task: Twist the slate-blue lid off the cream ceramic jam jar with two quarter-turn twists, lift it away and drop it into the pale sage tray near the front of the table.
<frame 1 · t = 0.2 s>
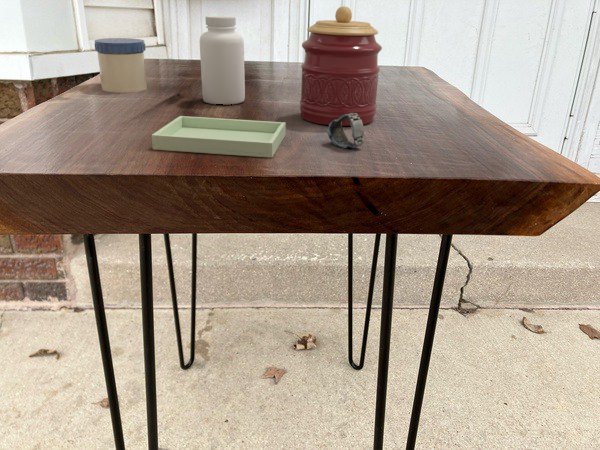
kitchen canister: (337, 119, 90), on the table
tray: (222, 142, 75), on the table
pill bottle: (223, 102, 100), on the table
jar: (125, 98, 99), on the table
wristwatch: (343, 147, 75), on the table
jar lid: (119, 42, 95), point 10 cm above the table, screwed on, not yet turned
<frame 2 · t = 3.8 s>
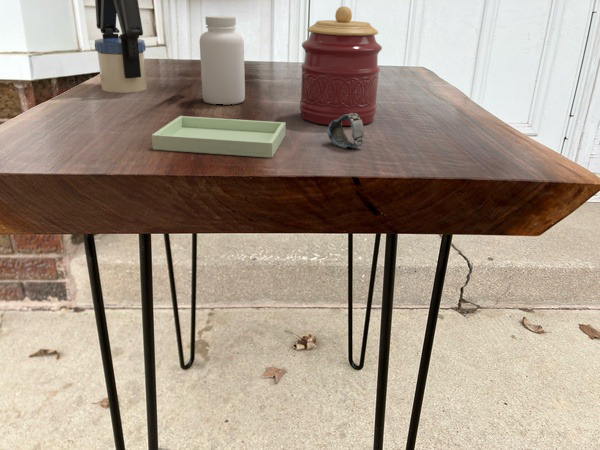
hand: (123, 73, 97), 5 cm above the table, tool pointing down, fingers closed on jar lid, 8 cm apart
jar lid: (120, 42, 95), point 10 cm above the table, screwed on, not yet turned, touching gripper
everything else where it was.
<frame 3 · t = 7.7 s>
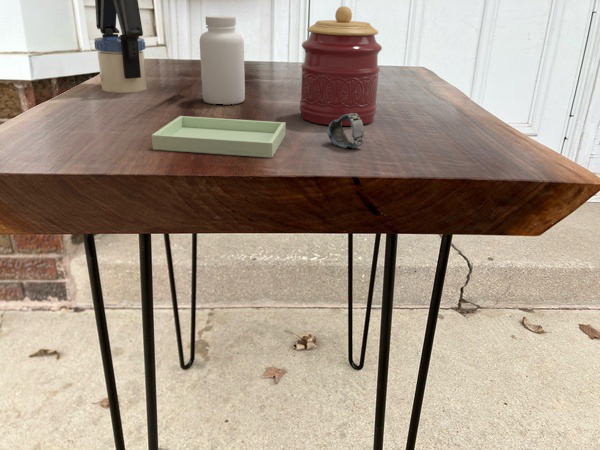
hand: (123, 74, 97), 5 cm above the table, tool pointing down, fingers closed on jar lid, 8 cm apart
jar lid: (119, 41, 94), point 10 cm above the table, turned 90° so far, risen 0.2 cm, still on its thread, touching gripper
everything else where it was.
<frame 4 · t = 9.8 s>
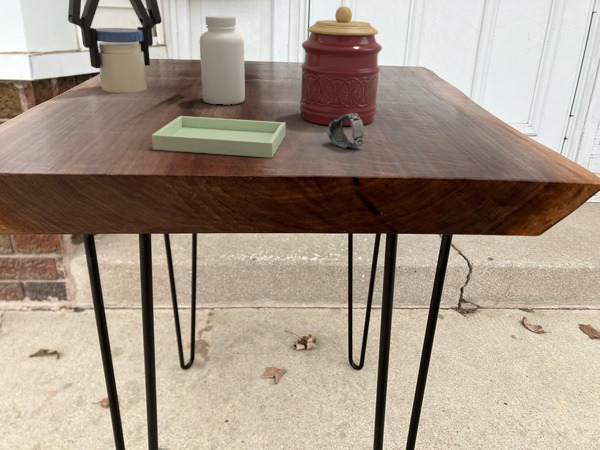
hand: (121, 65, 96), 6 cm above the table, tool pointing down, fingers closed on jar lid, 8 cm apart
jar lid: (117, 32, 94), point 12 cm above the table, off its thread, touching gripper
everything else where it was.
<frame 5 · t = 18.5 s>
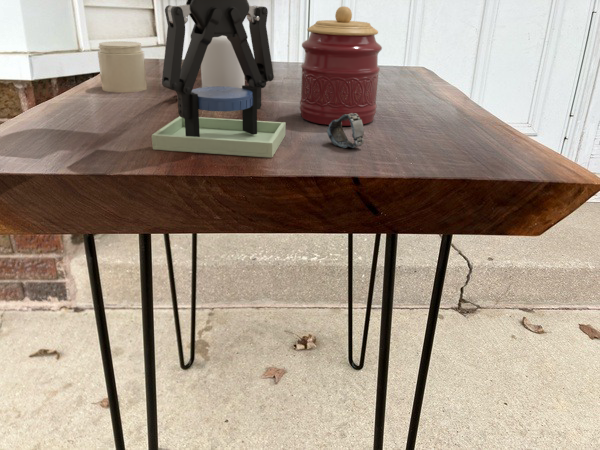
hand: (222, 136, 74), 1 cm above the table, tool pointing down, fingers closed on jar lid, 8 cm apart
jar lid: (221, 95, 72), point 7 cm above the table, off its thread, touching gripper
everything else where it was.
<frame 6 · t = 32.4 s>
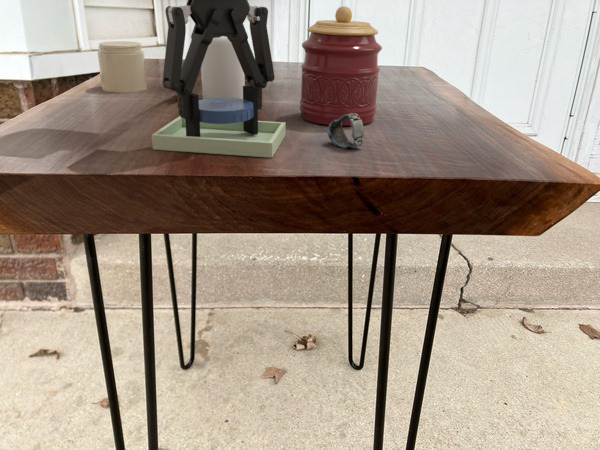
hand: (223, 136, 74), 1 cm above the table, tool pointing down, fingers closed on jar lid, 8 cm apart
jar lid: (222, 106, 72), point 5 cm above the table, off its thread, touching gripper
everything else where it was.
when the fingers open (3 cm above the table, at t = 33.2 s): jar lid drops 5 cm, resting on tray.
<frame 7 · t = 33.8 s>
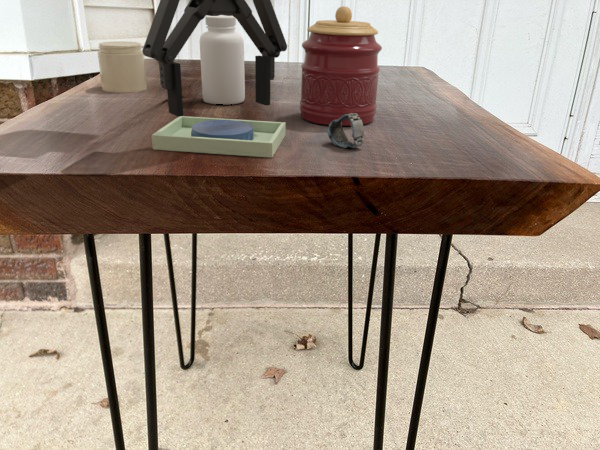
hand: (221, 109, 73), 5 cm above the table, tool pointing down, fingers open, 13 cm apart
jar lid: (222, 129, 74), point 2 cm above the table, off its thread, touching tray
everything else where it was.
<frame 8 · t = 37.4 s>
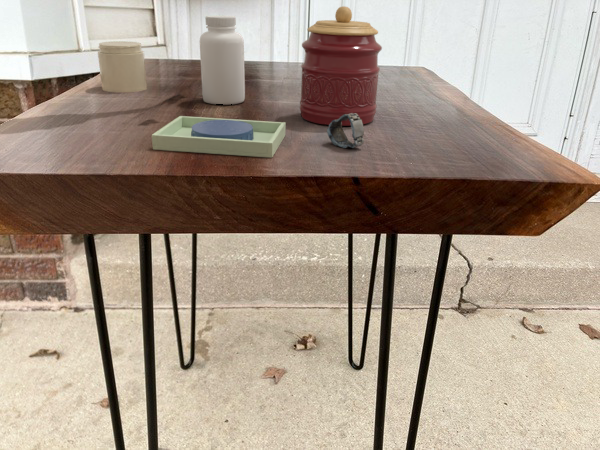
nothing on the table moved.
at the end: jar lid came off its thread; jar lid inside the target area in the tray (0.0 cm from its centre), point 1.8 cm above the tray's base; the gripper is holding nothing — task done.
